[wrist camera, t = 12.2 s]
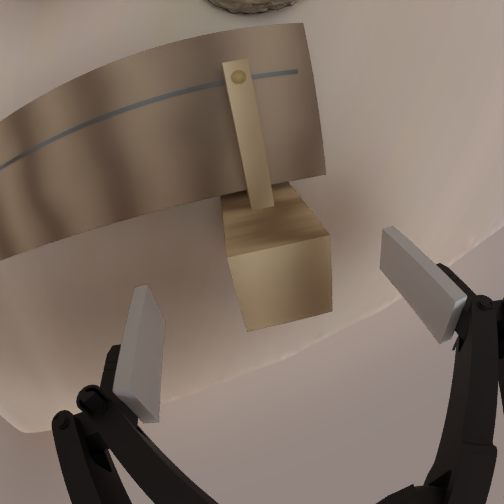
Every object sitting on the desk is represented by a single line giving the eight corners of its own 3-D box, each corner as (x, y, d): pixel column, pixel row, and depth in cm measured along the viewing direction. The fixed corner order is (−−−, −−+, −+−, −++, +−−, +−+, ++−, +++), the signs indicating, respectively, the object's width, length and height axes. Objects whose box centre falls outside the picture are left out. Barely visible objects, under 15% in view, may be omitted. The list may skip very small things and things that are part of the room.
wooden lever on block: (233, 246, 25) (247, 331, 16) (194, 76, 18) (179, 59, 9) (291, 233, 25) (332, 311, 16) (264, 63, 18) (305, 39, 9)
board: (7, 249, 22) (-6, 263, 20) (-30, 150, 16) (-47, 157, 14) (314, 166, 22) (326, 174, 20) (293, 30, 17) (303, 22, 14)
